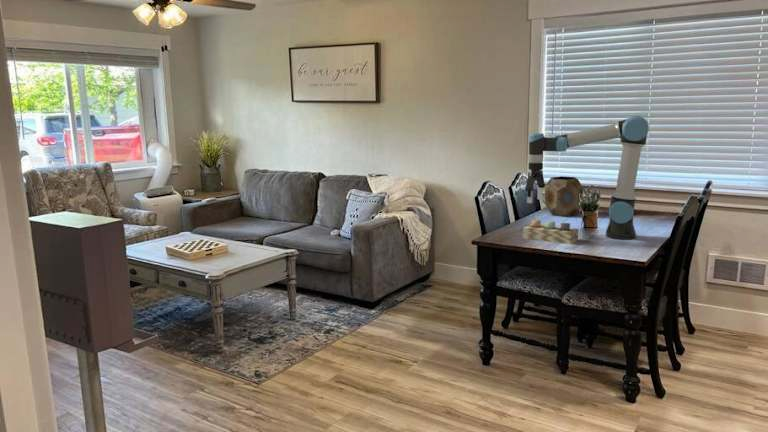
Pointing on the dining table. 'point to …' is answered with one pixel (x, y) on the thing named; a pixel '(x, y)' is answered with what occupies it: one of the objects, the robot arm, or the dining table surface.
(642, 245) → the dining table surface
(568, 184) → the brown dodecahedron
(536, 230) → the beige woven box
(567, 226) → the button charcoal
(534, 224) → the button terracotta
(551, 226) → the button sage
